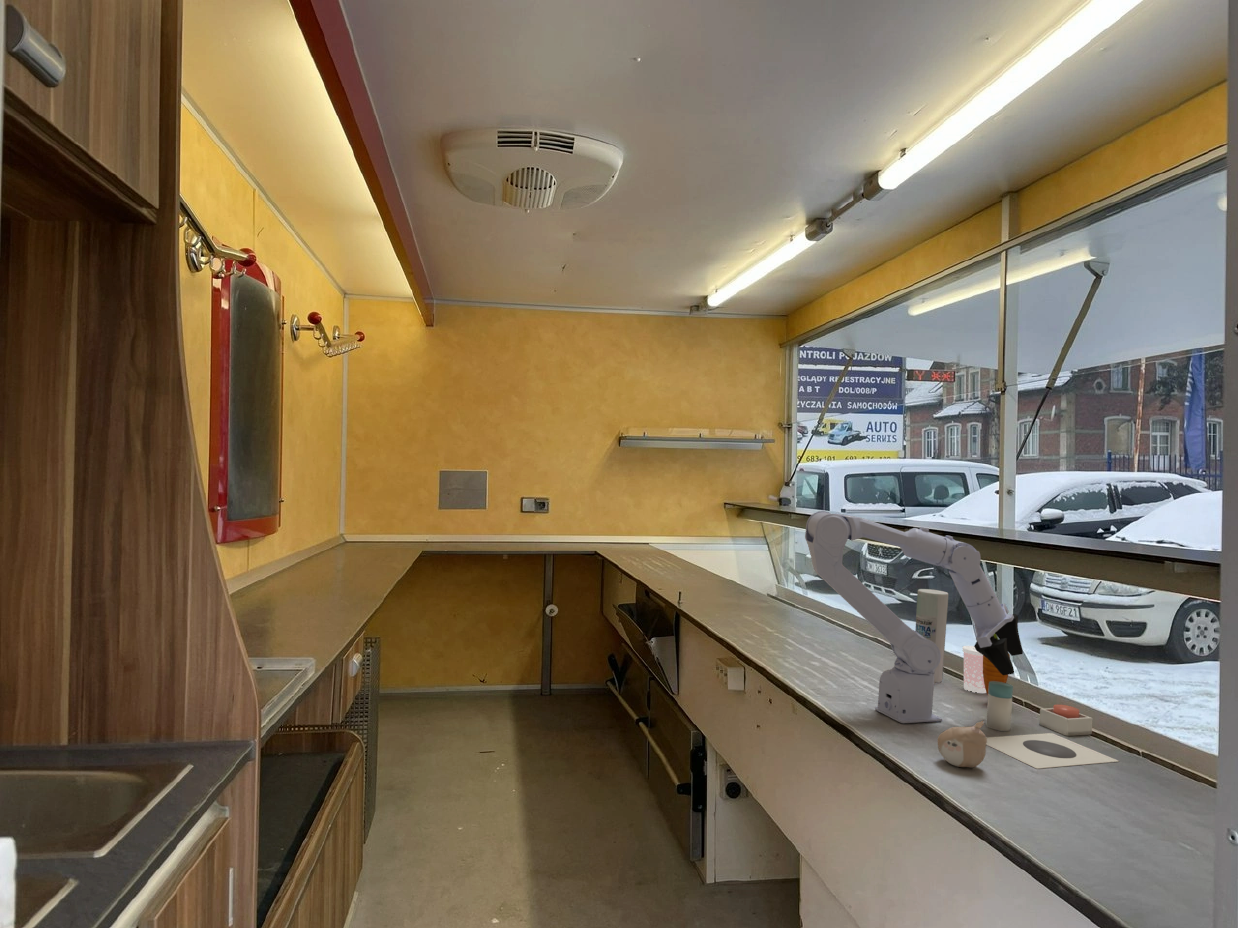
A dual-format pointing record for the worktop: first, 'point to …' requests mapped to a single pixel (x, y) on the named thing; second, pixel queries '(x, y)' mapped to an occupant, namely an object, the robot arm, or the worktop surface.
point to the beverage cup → (973, 670)
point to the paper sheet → (1046, 750)
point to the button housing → (1066, 723)
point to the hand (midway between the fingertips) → (1012, 663)
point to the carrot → (991, 672)
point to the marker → (999, 706)
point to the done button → (1066, 711)
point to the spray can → (933, 621)
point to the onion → (963, 745)
